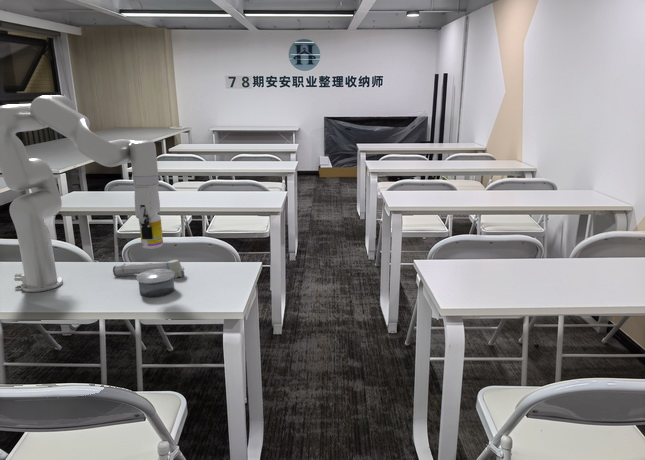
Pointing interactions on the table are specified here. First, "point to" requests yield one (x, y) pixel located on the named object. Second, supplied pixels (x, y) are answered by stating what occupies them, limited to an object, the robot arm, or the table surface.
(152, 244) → the supplement bottle
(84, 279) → the table surface
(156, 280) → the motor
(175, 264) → the light grey long piece
